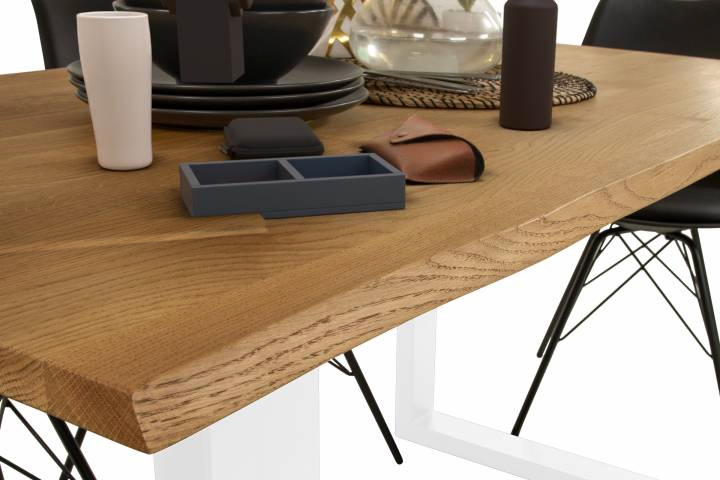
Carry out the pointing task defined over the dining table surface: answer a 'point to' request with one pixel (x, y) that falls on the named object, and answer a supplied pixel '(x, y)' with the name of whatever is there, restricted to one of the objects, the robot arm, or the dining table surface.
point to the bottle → (528, 64)
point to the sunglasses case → (428, 152)
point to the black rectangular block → (209, 41)
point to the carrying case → (270, 139)
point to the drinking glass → (118, 85)
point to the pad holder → (292, 186)
